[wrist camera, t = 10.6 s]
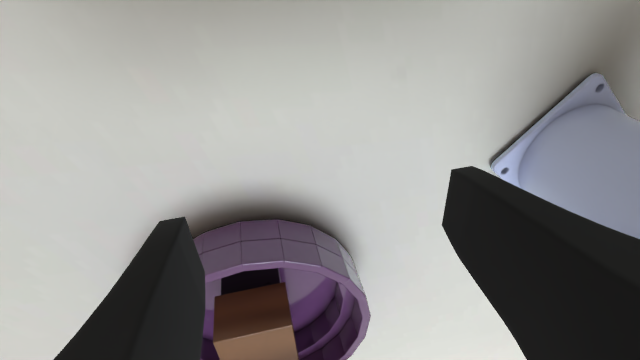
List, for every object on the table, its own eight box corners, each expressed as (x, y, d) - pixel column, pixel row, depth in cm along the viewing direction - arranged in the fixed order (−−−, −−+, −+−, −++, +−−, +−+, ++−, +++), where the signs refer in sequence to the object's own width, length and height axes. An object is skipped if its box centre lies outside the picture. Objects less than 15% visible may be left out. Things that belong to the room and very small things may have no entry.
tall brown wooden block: (215, 264, 23) (212, 342, 19) (280, 251, 24) (292, 324, 20) (239, 335, 28) (241, 411, 24) (293, 323, 29) (305, 395, 24)
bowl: (390, 263, 28) (411, 307, 25) (276, 363, 32) (281, 412, 29) (229, 177, 21) (230, 223, 17) (112, 321, 25) (95, 379, 22)
